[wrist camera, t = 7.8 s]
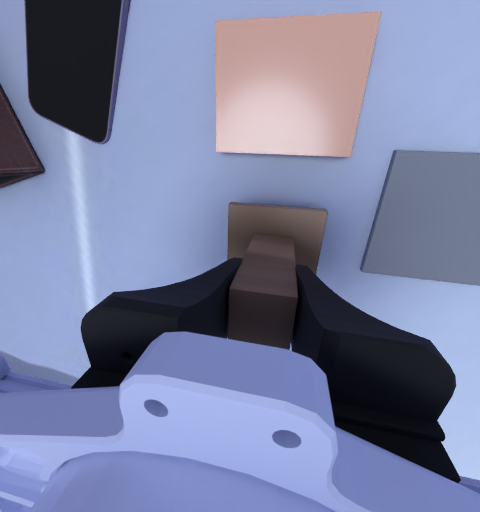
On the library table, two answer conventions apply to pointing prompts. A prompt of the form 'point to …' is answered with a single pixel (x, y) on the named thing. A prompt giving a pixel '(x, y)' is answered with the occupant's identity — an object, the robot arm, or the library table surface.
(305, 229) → the stamp
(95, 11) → the smartphone
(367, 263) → the mat
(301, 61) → the tile
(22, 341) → the library table surface
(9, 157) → the letter holder
